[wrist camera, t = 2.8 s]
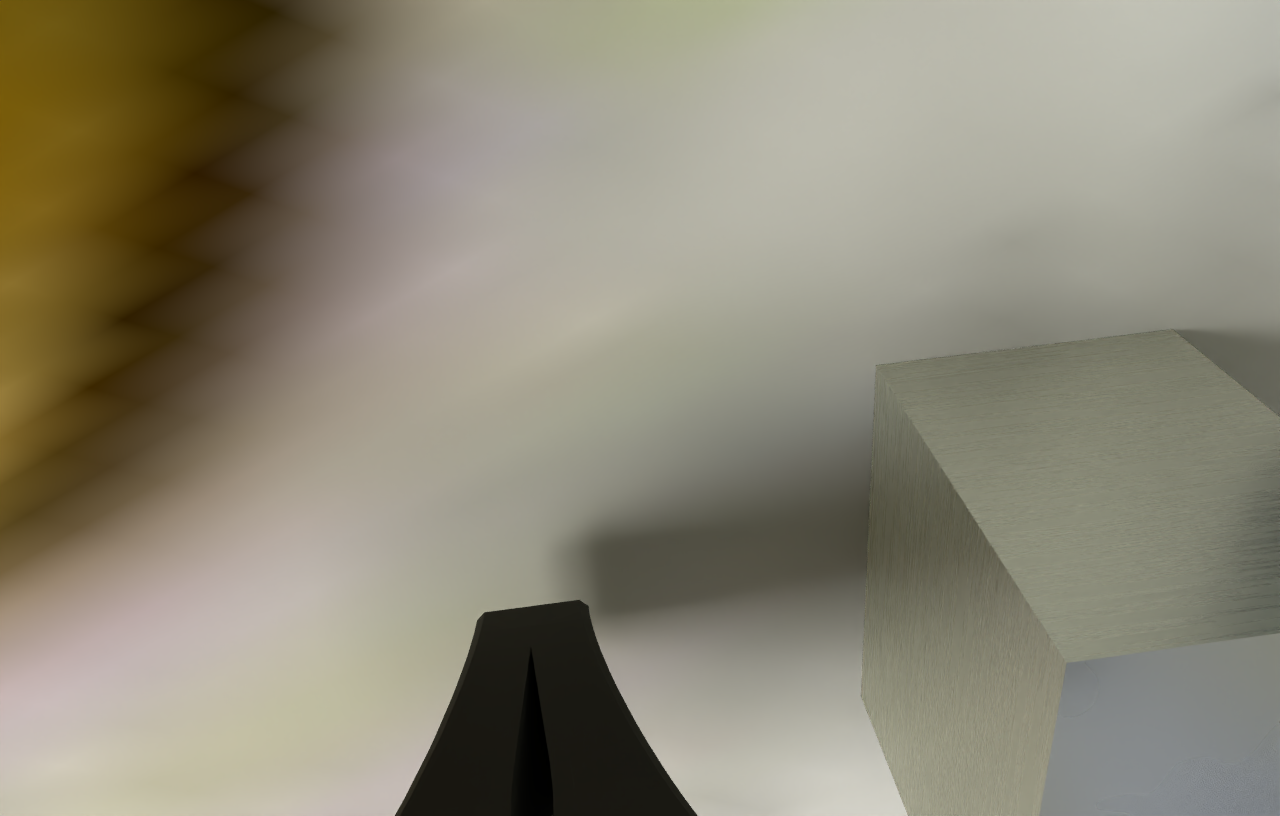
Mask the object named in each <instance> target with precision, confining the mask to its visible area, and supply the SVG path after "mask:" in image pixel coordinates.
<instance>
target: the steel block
mask: <svg viewBox="0 0 1280 816" xmlns="http://www.w3.org/2000/svg"><path fill="white" fill-rule="evenodd" d="M861 697H862V700H863V702H864V705H865V708H866V710H867V713H868V715H869V718H870V720H871V723H872V725H873V728H874V730H875V733H876V736H877V738H878V741H879V743H880V746H881V748H882V751H883V753H884V756H885V758H886V761H887V763H888V766H889V769H890V771H891V774H892V776H893V779H894V781H895V784H896V786H897V789H898V791H899V794H900V797H901V799H902V802H903V804H904V807H905V809H906V812H907V814H908V816H1280V417H1279V416H1278V415H1277V414H1275V413H1274V412H1273V411H1272V410H1270V409H1269V408H1268V407H1267V406H1266V405H1264V404H1263V403H1262V402H1261V401H1259V400H1258V399H1257V398H1256V397H1255V396H1253V395H1252V394H1251V393H1250V392H1248V391H1247V390H1246V389H1245V388H1244V387H1242V386H1241V385H1240V384H1239V383H1237V382H1236V381H1235V380H1234V379H1233V378H1231V377H1230V376H1229V375H1228V374H1226V373H1225V372H1224V371H1223V370H1222V369H1220V368H1219V367H1218V366H1217V365H1215V364H1214V363H1213V362H1212V361H1211V360H1209V359H1208V358H1207V357H1206V356H1204V355H1203V354H1202V353H1201V352H1200V351H1198V350H1197V349H1196V348H1195V347H1193V346H1192V345H1191V344H1190V343H1189V342H1187V341H1186V340H1185V339H1184V338H1182V337H1181V336H1180V335H1179V334H1178V333H1176V332H1175V331H1174V330H1173V329H1171V330H1163V331H1154V332H1146V333H1138V334H1130V335H1121V336H1113V337H1105V338H1097V339H1088V340H1080V341H1072V342H1064V343H1055V344H1047V345H1039V346H1031V347H1023V348H1014V349H1006V350H998V351H990V352H981V353H973V354H965V355H957V356H948V357H940V358H932V359H924V360H915V361H907V362H899V363H891V364H882V365H876V375H875V397H874V419H873V441H872V464H871V486H870V508H869V530H868V552H867V574H866V596H865V619H864V641H863V663H862V685H861Z"/></svg>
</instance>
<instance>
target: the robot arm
mask: <svg viewBox="0 0 1280 816" xmlns="http://www.w3.org/2000/svg"><path fill="white" fill-rule="evenodd" d="M395 816H697V814H696V813H695V812H694V810H693V809H692V808H691V806H690V805H689V804H688V802H687V801H686V800H685V798H684V797H683V795H682V794H681V793H680V791H679V790H678V788H677V787H676V785H675V784H674V783H673V781H672V780H671V778H670V777H669V775H668V774H667V772H666V771H665V769H664V768H663V766H662V765H661V763H660V761H659V760H658V758H657V757H656V755H655V753H654V752H653V750H652V749H651V747H650V746H649V744H648V742H647V741H646V739H645V737H644V736H643V734H642V732H641V730H640V729H639V727H638V725H637V724H636V722H635V720H634V718H633V716H632V714H631V712H630V711H629V709H628V707H627V705H626V703H625V701H624V699H623V697H622V696H621V694H620V692H619V690H618V688H617V686H616V684H615V682H614V680H613V678H612V676H611V673H610V671H609V669H608V666H607V664H606V662H605V659H604V657H603V655H602V652H601V650H600V647H599V645H598V642H597V639H596V636H595V633H594V630H593V626H592V623H591V619H590V614H589V607H588V605H586V604H584V603H583V602H581V601H580V600H575V601H567V602H560V603H552V604H545V605H537V606H530V607H522V608H515V609H507V610H500V611H492V612H485V613H484V614H483V615H482V616H481V617H480V618H479V619H478V620H477V624H476V628H475V632H474V636H473V639H472V643H471V646H470V649H469V653H468V656H467V659H466V662H465V665H464V667H463V670H462V673H461V676H460V678H459V681H458V684H457V686H456V689H455V691H454V694H453V697H452V699H451V701H450V704H449V706H448V708H447V711H446V713H445V715H444V718H443V720H442V722H441V724H440V727H439V729H438V731H437V734H436V736H435V738H434V741H433V743H432V745H431V747H430V749H429V751H428V753H427V755H426V757H425V759H424V761H423V763H422V765H421V767H420V769H419V771H418V773H417V775H416V777H415V779H414V781H413V783H412V785H411V787H410V789H409V791H408V793H407V795H406V797H405V799H404V800H403V802H402V804H401V806H400V808H399V809H398V811H397V813H396V815H395Z"/></svg>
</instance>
